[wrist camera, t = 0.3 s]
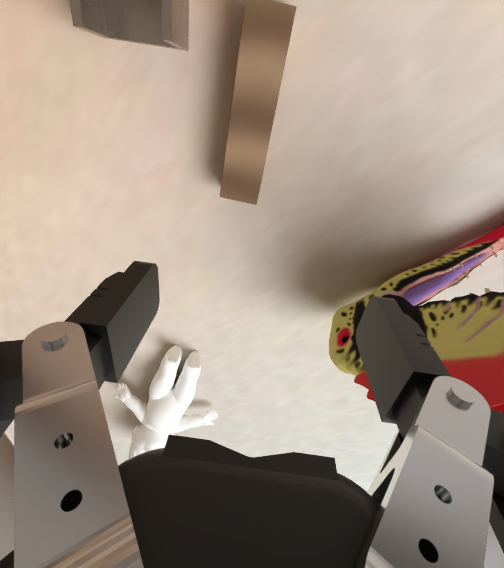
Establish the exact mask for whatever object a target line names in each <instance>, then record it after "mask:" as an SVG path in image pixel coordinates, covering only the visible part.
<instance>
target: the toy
mask: <svg viewBox="0 0 504 568" xmlns="http://www.w3.org/2000/svg"><path fill="white" fill-rule="evenodd" d="M502 249H504V224H503V225H501V226H500V227H498V228H496V229H495V230H493V231H491V232H490V233H488V234H486V235H484V236H482V237H480V238H478V239H476V240H474V241H472V242H470V243H469V244H467V245H464V246H462V247H460V248H458V249H456V250H454V251H452V252H450V253H448V254H446V255H443V256H441V257H439V258H437V259H435V260H432V261H430V262H428V263H426V264H423V265H421V266H419V267H416V268H413V269H410V270H407V271H404V272H402V273H400V274H398V275H396V276H394V277H392V278H391V279H389V280H388V281H386V282H385V283H383V284H382V285H381V286H380V287H378V288H377V289H376V290H375V291H374V292H372V293H371V294H369V295H367V296H365V297H363V298H361V299H360V300H358V301H356V302H354V303H351V304H349V305H347V306H344V307H342V308H340V309H338V310H337V311H336V312H335V314H334V316H333V320H332V327H331V333H330V339H329V354H330V358H331V359H332V361H333V363H334V364H335V365H336V366H337V367H338V368H339V370H341V371H343V372H344V373H348V374H353V375H355V376H356V377H355V380H354V382H355V383H357V384H360V385H362V386H364V387H366V388H367V389H369V391H368V394H367V398H368V399H371V400H373V401H375V399H374V396H373V393H372V390H371V387H370V384H369V381H368V377H367V374H366V371H365V368H364V365H363V362H362V359H361V356H360V353H359V350H358V347H357V343H356V331H357V327H358V325H359V323H360V320H361V318H362V315H363V313H364V311H365V308H366V306H367V304H368V301H369V299H370V298H371V297H372V296H377V297H384V298H391V299H395V300H396V302H397V303H398V305H399V307H400V308H401V310H402V312H403V313H404V314H407V315H408V316H410V317H411V318H412V319H413V320H414V321H415V322H416V323H417V324H419V326H420V328H421V329H422V331H423V332H424V334H425V337H427V339H428V340H429V342H430V343H431V346H432V347H433V348H434V350H435V351H436V353H437V355H438V356H439V358H440V359H441V361H442V363H443V364H444V366H445V367H446V369H447V371H448V372H449V374H450V375H451V377H453V378H456V379H459V380H461V381H463V382H465V383H467V384H468V385H470V386H471V387H473V388H474V389H475V390H477V391H478V392H479V393H480V394H481V395H482V396H483V397H484V399H485V400H486V401H487V403H488V405H489V407H490V408H491V409H494V410H496V411H499V412H502V413H504V292H502V293H499V292H492V291H490V290H489V289H487V288H485V292H486V294H484V295H481V296H478V295H475V294H472V293H470V294H469V295H466V296H462V297H455V298H453V299H452V300H451V301H446V300H445V299H444V300H441V301H432V302H427V303H426V304H424V305H421V304H423V303H425V302H426V301H428V300H429V299H431V298H432V297H434V296H435V295H437V294H438V293H440V292H441V291H443V290H445V289H446V288H448V287H451V286H454V285H457V283H459V282H460V281H461V280H462V279H464V278H465V277H467V278H469V277H468V274H469V273H470V272H471V271H472V270H473V269H474V268H476V267H477V266H479V265H481V263H482V262H483V261H485V260H486V259H487V258H489V257H490V256H492V255H495V257H497V254H496V252H498V251H499V250H502ZM481 266H482V265H481ZM419 305H421V306H419Z"/></svg>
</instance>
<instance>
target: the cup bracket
mask: <svg viewBox="0 0 504 568" xmlns="http://www.w3.org/2000/svg"><path fill="white" fill-rule="evenodd" d="M70 6H71V13H72V19H73V26H75V27H78V28H80V29H83V30H86V31H88V32H91V33H93V34H96V35H99V36H101V37H104V38H110V39H116V40H122V41H129V42H135V43H142V44H148V45H154V46H161V47H167V48H174V49H180V50H186V51H188V16H189V0H70Z"/></svg>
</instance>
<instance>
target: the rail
mask: <svg viewBox="0 0 504 568" xmlns="http://www.w3.org/2000/svg"><path fill="white" fill-rule="evenodd" d="M295 11H296V6H292V5H288V4H284V3H280V2H276V1H271V0H246V1H245V9H244V16H243V24H242V31H241V39H240V47H239V54H238V62H237V69H236V77H235V85H234V92H233V100H232V107H231V115H230V123H229V130H228V138H227V145H226V153H225V161H224V168H223V176H222V183H221V191H220V197H223V198H227V199H232V200H237V201H241V202H246V203H251V204H257V199H258V194H259V189H260V184H261V179H262V174H263V169H264V164H265V159H266V154H267V149H268V145H269V140H270V135H271V130H272V125H273V120H274V115H275V110H276V105H277V100H278V95H279V90H280V85H281V80H282V75H283V70H284V65H285V60H286V55H287V50H288V46H289V41H290V36H291V31H292V26H293V21H294V16H295Z"/></svg>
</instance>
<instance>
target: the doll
mask: <svg viewBox="0 0 504 568" xmlns="http://www.w3.org/2000/svg"><path fill="white" fill-rule="evenodd" d="M181 356H182V348H181V347H180V346H178V345H174V346H172V347H171V348H170V349H169V350H168V351H167V353H166V354H165V356H164V358H163V359H162V361H161V364H160V367H159V370H158V372H157V373H156V375H155V376H154V378H153V380H152V382H151V385H150V389H149V401H148V405H147V404H146V403H143V402H141V400H140V399H139V398H138V397H136V396H134V395H132V394H131V392H130V390H129V389H128V388H127V385H126V384H125V385H124V383H122V384H120V383H119V384H118V386H117V387H116V389H117V390H118V392H119V395H118V394H115V395H114V397H116V398H118V399H119V400H120V401H122V402H124V403H125V404H126V406H127V407H128V408H129V409H130V410H132V411H133V413H134V414H135V416H136V417H137V418H138V420H139V421H140V422H141V423H142V425H140V426H138V425H137V426H136V427H135V428H134V430H133V434H132V443H131V446H130V450H129V459H131V458H133V457H135V456H137V455H139V454H142V453H144V452H147V451H151V450H155V449H159V448H165V445H166V442H167V439H168V436H169V435H175V433H176V432H180V431H183V430H186V429H188V428H194V427H198V426H201V425H214V422H211V421H212V420H213V419H215V418H217V417H218V416H217V415H218V412H216V410H214V411H213V410H211V411H209V412H206V413H204V414H203V415H199V414H192V415H190V416H189V415H183V414H184V412H185V410H186V408H187V407H188V406H189V405H190V403H191V401H192V399H193V397H194V394H195V389H196V382H197V379H198V377H199V374H200V368H201V362H202V361H201V355H200V353H199V352H197V351H193V352H191V353H190V354H189V356H188V358H187V360H186V362H185V364H184V367H183V370H182V372H181V374H180V376H179V378H178V380H177V383H176V385H174V381H175V378H176V373H177V369H178V366H179V364H180V361H181Z"/></svg>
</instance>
